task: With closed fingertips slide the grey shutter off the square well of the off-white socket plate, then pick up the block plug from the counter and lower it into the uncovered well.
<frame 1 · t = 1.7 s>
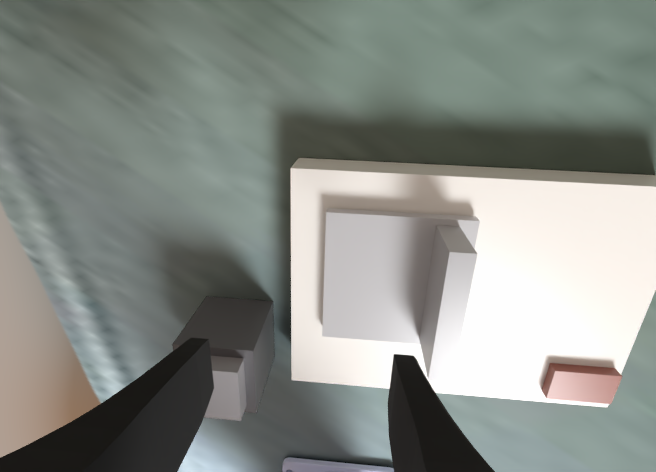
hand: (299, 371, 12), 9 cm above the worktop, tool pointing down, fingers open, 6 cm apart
plug: (241, 326, 24), on the worktop
shutter: (396, 295, 17), point 4 cm above the worktop, slide at 0.0 cm
socket plate: (453, 275, 21), on the worktop
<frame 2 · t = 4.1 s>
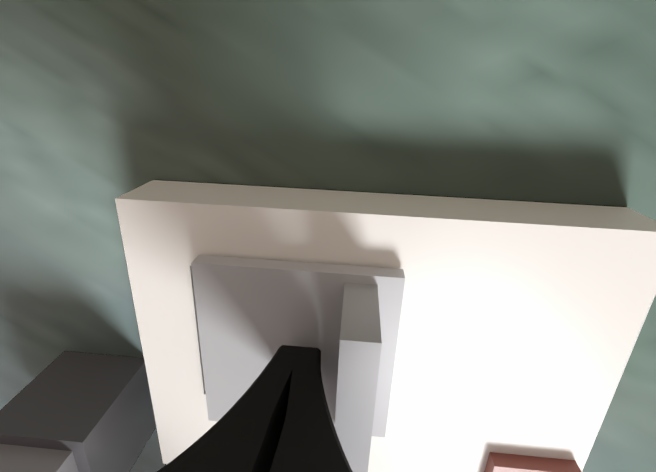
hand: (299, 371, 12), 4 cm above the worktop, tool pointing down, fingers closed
plug: (113, 387, 19), on the worktop
shutter: (290, 380, 12), point 4 cm above the worktop, slide at 0.9 cm, touching gripper
socket plate: (368, 331, 16), on the worktop
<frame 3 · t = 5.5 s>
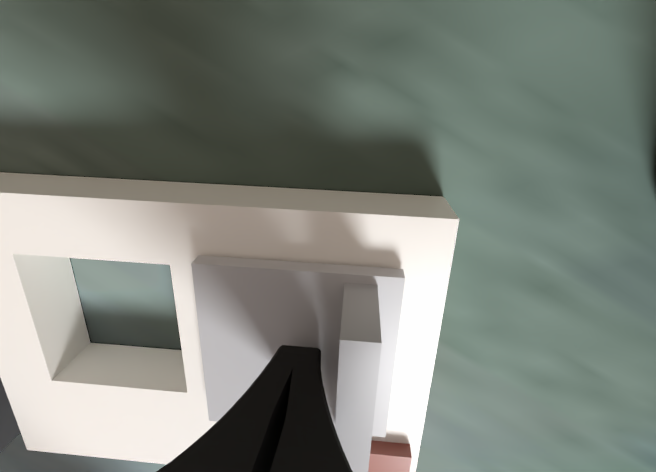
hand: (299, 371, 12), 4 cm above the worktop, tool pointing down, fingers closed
shutter: (290, 380, 12), point 4 cm above the worktop, slide at 7.2 cm, touching gripper
socket plate: (222, 320, 17), on the worktop
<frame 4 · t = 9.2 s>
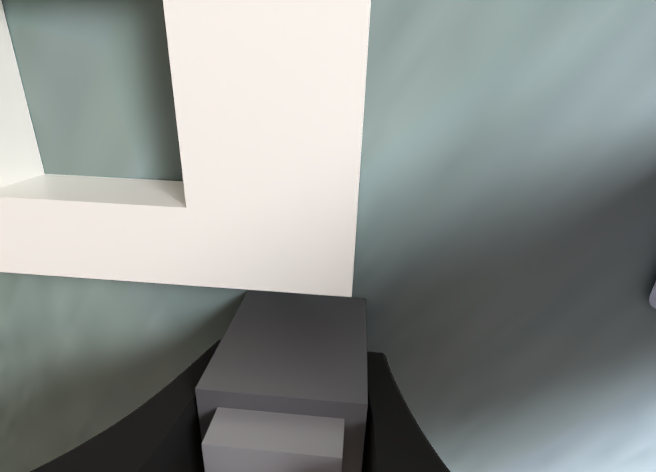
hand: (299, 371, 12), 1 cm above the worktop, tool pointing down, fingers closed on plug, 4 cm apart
plug: (305, 343, 14), on the worktop, touching gripper
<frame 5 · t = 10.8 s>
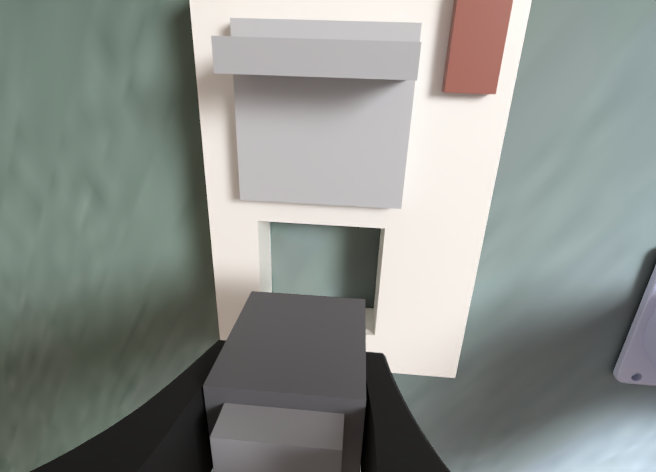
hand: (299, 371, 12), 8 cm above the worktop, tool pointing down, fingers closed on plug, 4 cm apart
plug: (307, 341, 14), point 7 cm above the worktop, touching gripper
shutter: (318, 123, 13), point 4 cm above the worktop, slide at 7.3 cm
socket plate: (346, 195, 19), on the worktop
when the fingers open (3 cm above the worktop, at t = 12.5 s): plug drops 1 cm, resting in socket plate.
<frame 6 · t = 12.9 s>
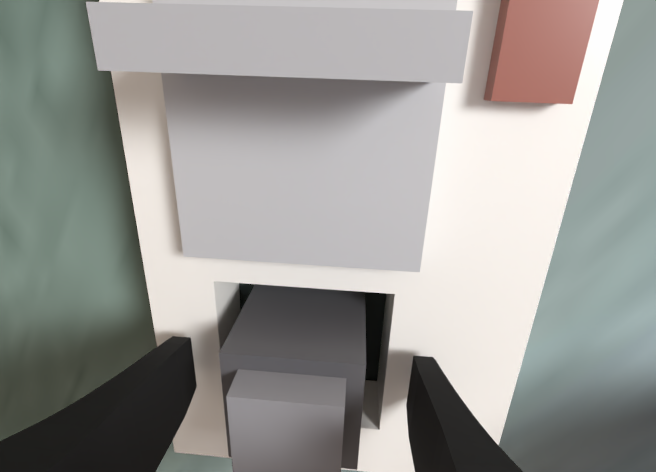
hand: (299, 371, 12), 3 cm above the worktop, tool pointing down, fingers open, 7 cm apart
plug: (311, 323, 15), resting in socket plate
shutter: (292, 151, 8), point 4 cm above the worktop, slide at 7.3 cm
socket plate: (340, 238, 14), on the worktop
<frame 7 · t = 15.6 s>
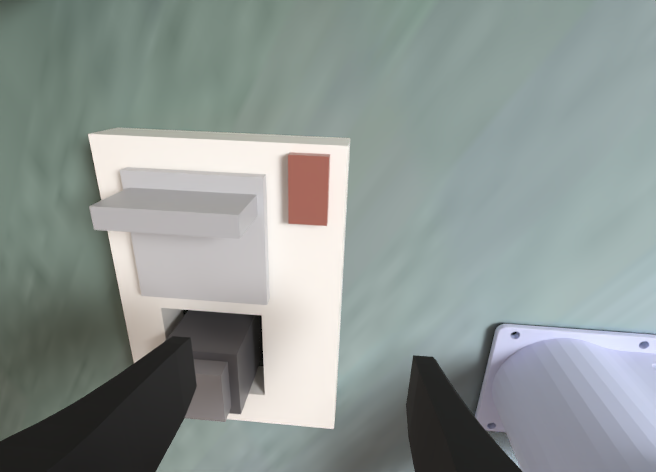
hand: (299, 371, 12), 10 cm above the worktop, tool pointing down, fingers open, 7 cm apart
plug: (229, 330, 24), resting in socket plate
shutter: (187, 250, 18), point 4 cm above the worktop, slide at 7.3 cm
socket plate: (241, 280, 23), on the worktop
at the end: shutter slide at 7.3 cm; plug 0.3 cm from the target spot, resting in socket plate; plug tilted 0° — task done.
